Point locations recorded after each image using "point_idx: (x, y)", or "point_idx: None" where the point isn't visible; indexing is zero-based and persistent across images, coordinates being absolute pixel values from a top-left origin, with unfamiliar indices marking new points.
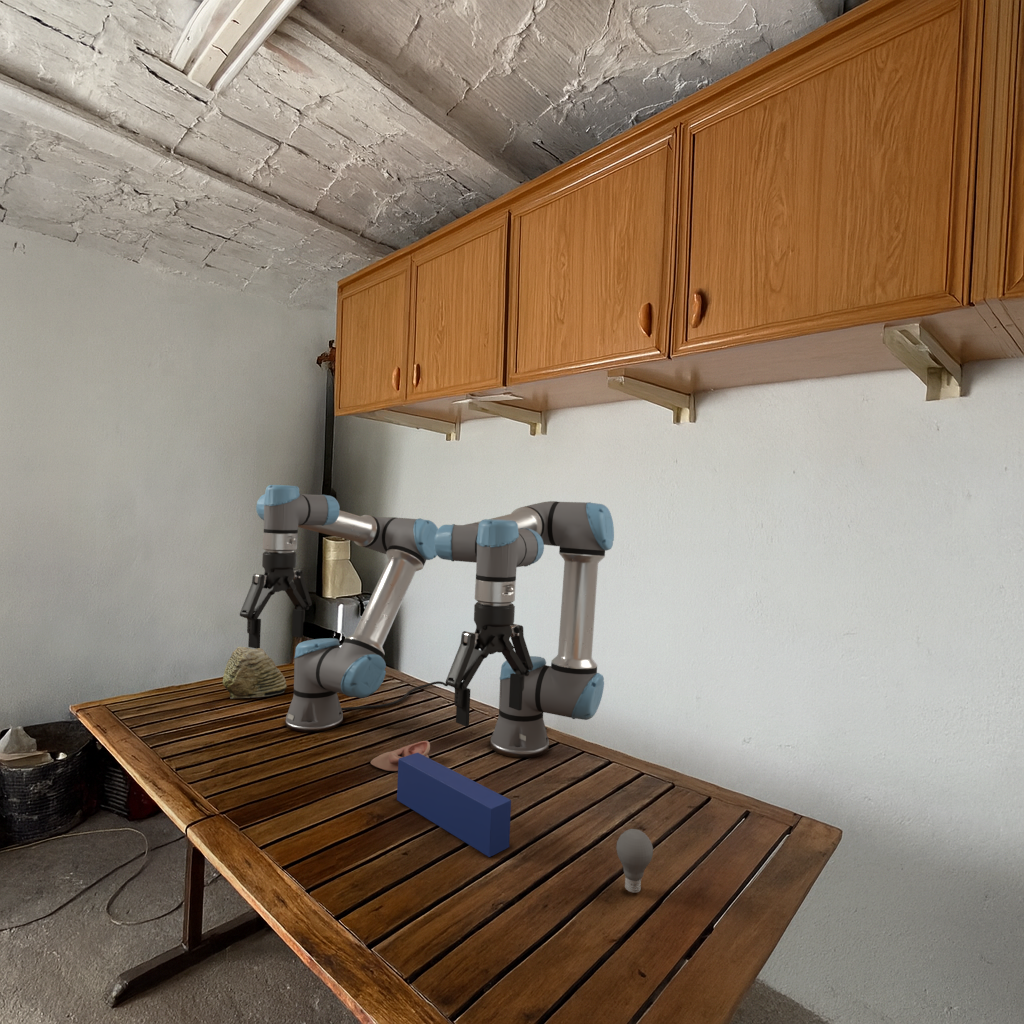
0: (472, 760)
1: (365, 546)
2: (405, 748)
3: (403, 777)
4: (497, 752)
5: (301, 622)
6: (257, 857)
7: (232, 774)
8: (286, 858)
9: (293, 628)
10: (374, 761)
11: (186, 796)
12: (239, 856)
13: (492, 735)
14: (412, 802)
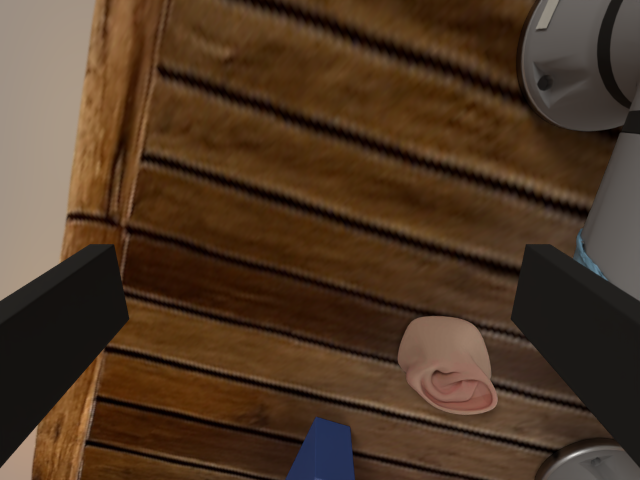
0: (500, 441)
1: None
2: (463, 373)
3: (309, 463)
4: (544, 462)
5: (585, 399)
6: None
7: (240, 118)
8: (111, 388)
9: (558, 285)
10: (412, 331)
11: (121, 119)
12: None
13: (589, 459)
14: (301, 453)
